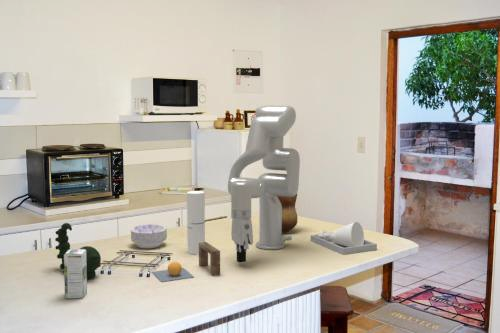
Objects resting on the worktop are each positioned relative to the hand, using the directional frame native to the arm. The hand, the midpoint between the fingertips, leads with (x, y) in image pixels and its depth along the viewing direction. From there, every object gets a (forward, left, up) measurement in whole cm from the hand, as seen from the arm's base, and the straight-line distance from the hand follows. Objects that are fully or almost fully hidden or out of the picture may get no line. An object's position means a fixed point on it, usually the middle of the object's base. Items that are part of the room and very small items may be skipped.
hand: (241, 261), depth 203 cm
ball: (+26, +1, +1) cm, 27 cm away
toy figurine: (+57, -15, -2) cm, 59 cm away
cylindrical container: (+9, -25, -2) cm, 27 cm away
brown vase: (-41, -41, -2) cm, 58 cm away
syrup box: (+61, +7, -2) cm, 61 cm away
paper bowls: (+24, -43, -2) cm, 49 cm away
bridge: (+13, 0, -2) cm, 13 cm away
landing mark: (+27, 0, -2) cm, 27 cm away
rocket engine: (-52, -8, -2) cm, 53 cm away
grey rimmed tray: (-52, -8, -2) cm, 53 cm away
